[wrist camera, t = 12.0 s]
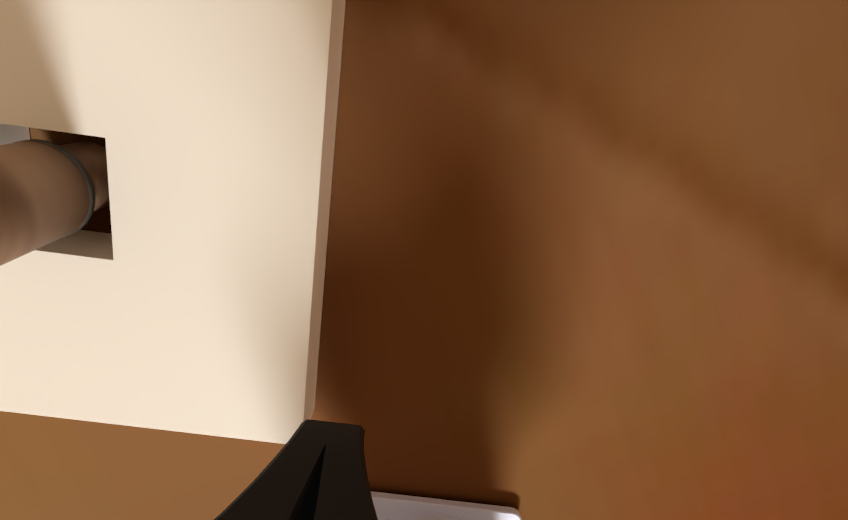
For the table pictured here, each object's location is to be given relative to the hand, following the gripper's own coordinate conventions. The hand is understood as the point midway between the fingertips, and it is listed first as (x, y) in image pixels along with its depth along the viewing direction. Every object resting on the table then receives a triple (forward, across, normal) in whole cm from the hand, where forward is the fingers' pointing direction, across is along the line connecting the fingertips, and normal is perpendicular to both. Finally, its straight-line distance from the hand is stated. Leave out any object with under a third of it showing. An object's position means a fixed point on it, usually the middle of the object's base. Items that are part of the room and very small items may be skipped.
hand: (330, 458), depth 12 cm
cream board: (+10, +11, -3) cm, 15 cm away
